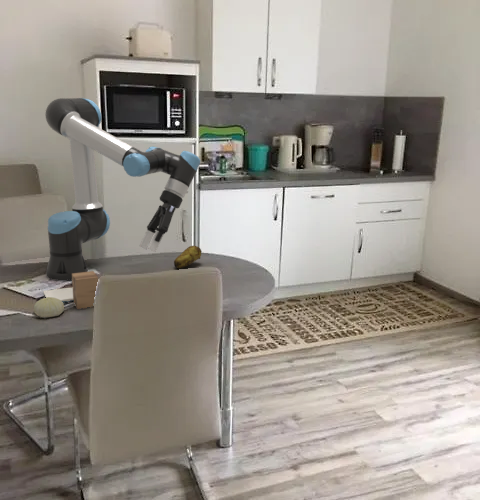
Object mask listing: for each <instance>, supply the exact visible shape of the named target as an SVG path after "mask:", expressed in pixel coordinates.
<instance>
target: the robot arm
mask: <svg viewBox="0 0 480 500" xmlns="http://www.w3.org/2000/svg"><path fill="white" fill-rule="evenodd" d="M44 114H45V120H46V123H47V124H48V126H49V127H50V128H51V129H52V130H53V131H54V132H56V133H57V134H59V135H61V136H62V137H64V138H67V139H68V140H69V146H70V147H69V148H70V158H71V159H70V160H71V166H72V167H71V168H72V170H71V171H72V180H73V187H74V199H75V202H74V204H73V205H72V206H71V208H72V210H66V211H65V210H64V211H60V212H56V213H54V214H52V215H51V216H49V217H48V221H47V232H48V235H47V236H48V245H49V258H48V263H47V266H46V271H45V272H46V277H47V278H48V279H49V280H54V281H59V280H67V281H72V273H80V272H89V269H88V265H87V263H86V260H85V257H84V254H83V244H85V243H87V242H88V243H89V242H90V241H93V240H94V241H95V240H97V239H100V238H102V237H104V236H105V235H106V234H107V233H108V231H109V229H110V226H111V220H110V216H109V214H108V213H107V211H106V209H104V206H103V204H102V203H101V202H100V201H99V196H98V195H99V194H98V193H99V191H98V184H97V183H98V182H97V172H96V161H95V160H96V158H95V152H96V153H98V154H100V155H102V156H104V157H106V158H107V159H109V160H111V161H113V162H115V163H116V164H118V165H120V166H121V167H123V169H124V171H125V172H126V174H127V175H128V176H129V177H135V178H136V177H143V176H147V175H151V174H156V173H164V174H166V175H169V178H168V180H167V182H166V183H165V185H164V190H162V192H161V194H160V196H159V200H160V201H161V202H162V205H159V206H158V208H157V209H156V212H155V213H154V215H153V217H152V218H151V220H150V221H149V222H148V224H147V226H146V231H145V233H144V236H143V238H142V239H141V242H140V244H139V247H140V248H141V249H143V250H147V249H148V250H149V251H153V252H154V253H156V251H157V249H158V247H159V245H160V243H161V241H162V239H163V237H164V235H165V234H166V233H167V232H168V230H169V227H170V224H171V222H172V219H173V216H174V212H175V211H176V209H180V206H181V205H182V202H183V198H185V196H186V194H188V193H189V191H188V189H190V188H189V187H190V186H191V183H192V182H193V179H194V177H195V175H196V173H198V169H199V167H200V164H201V159H200V157H198V155H197V154H195V153H193V152H191V151H188V150H183V151H182V152H181V153H180V155H179V154H177V153H173V152H170V151H168V150H166V149H163V148H161V147H156V146H150V147H148V149H147V148H146V150H145V151H141V150H140V149H138V148H135V147H134V146H133V145H131V144H128V143H127V142H125V141H124V140H121V139H120V138H118V137H116V136H115V135H112V134H111V133H109V132H107V131H105V130H103V129H102V128H100V124H101V123H102V112H101V109H100V108H99V106H98V105H97V104H96V102H94V101H93V100H91V99H89V98H83V97H78V98H77V97H75V98H73V97H72V98H69V97H68V98H65V97H64V98H63V97H62V98H56V99H54V100H52V101H50V103H48V105H47V107H46V109H45V113H44Z"/></svg>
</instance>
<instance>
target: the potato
mask: <svg viewBox="0 0 480 500" xmlns="http://www.w3.org/2000/svg"><path fill="white" fill-rule="evenodd" d="M201 256H202V248H200V247H199V246H197V245H190V246H187V248H185V249H184V251H182V253H181V254H180V255H178V256H177V257H176V258H175V259H174V261H173V265H174V267H175V268H177V269H182V268H185V267H188V266H190V265H192V264H194V262H196V261H197V260H200V259H201Z"/></svg>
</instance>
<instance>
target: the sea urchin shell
mask: <svg viewBox="0 0 480 500" xmlns="http://www.w3.org/2000/svg"><path fill="white" fill-rule="evenodd" d="M32 309H33V312H34V314H35V315H37V316H38V317H40V318H53V317H57V316H60V315H61V314H62V313H63V312H64V310H65V303H63V302H62V301H61V300H59V299H57V298H53V297H46V298H45V297H43V298H40V299H39V300H38V301H36V302H35V303H34V306H33V308H32Z"/></svg>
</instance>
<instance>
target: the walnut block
mask: <svg viewBox="0 0 480 500" xmlns="http://www.w3.org/2000/svg"><path fill="white" fill-rule="evenodd" d="M97 282H98V283H99V276H98V275H97V274H96V272H95V271H93V270H92V271H90V270H88V272H80V273H72V280H71V283H72V287H73V300H74V302H73V304H74V303H75V304H74V306H75V305H76V306H75V307H76V309H77V310H80V309H81V308H83V309H88V308H87V307H90V308H92V307H91V306H93V303H94V297H95V291H96V286H97ZM81 310H82V309H81Z"/></svg>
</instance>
